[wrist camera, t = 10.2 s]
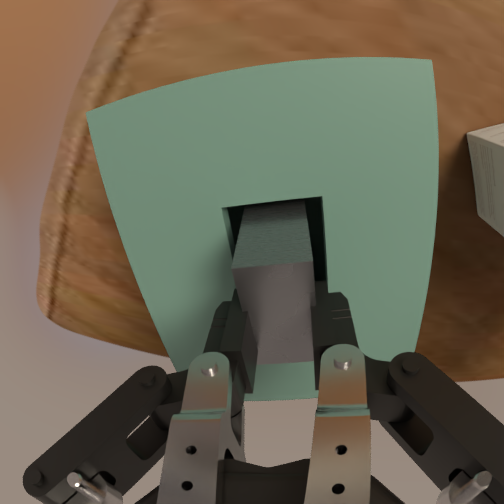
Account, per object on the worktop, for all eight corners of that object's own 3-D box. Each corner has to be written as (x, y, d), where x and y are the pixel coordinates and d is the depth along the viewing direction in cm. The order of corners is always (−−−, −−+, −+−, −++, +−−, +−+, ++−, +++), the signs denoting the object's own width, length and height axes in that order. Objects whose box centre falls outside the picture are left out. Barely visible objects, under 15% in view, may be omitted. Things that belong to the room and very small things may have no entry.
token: (303, 193, 13) (312, 261, 9) (311, 282, 16) (318, 360, 12) (246, 199, 14) (231, 268, 10) (263, 287, 17) (257, 364, 12)
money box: (367, 71, 17) (431, 59, 9) (375, 295, 26) (404, 386, 17) (165, 100, 20) (85, 112, 11) (217, 309, 28) (191, 399, 19)
